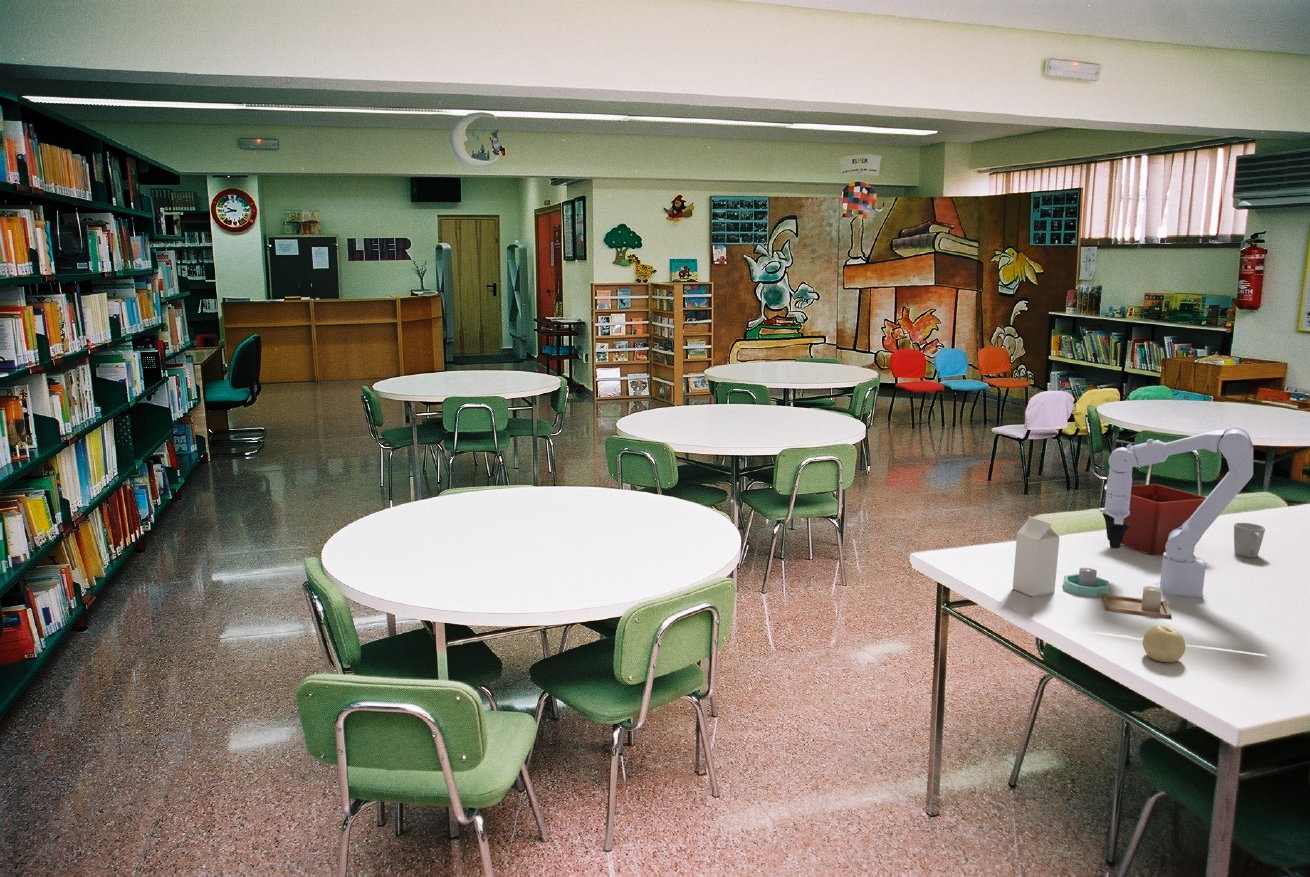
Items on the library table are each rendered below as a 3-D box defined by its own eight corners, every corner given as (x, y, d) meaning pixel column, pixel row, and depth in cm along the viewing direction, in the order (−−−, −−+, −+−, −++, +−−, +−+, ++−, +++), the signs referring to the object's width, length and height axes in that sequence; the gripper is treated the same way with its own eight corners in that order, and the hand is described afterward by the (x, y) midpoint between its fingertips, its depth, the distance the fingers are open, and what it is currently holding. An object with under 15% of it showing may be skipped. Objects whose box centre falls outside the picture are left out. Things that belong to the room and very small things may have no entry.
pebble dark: (1095, 587, 238) (1097, 569, 237) (1094, 592, 235) (1096, 573, 234) (1078, 585, 240) (1080, 566, 239) (1077, 590, 236) (1079, 571, 235)
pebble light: (1158, 607, 225) (1160, 587, 224) (1161, 612, 221) (1163, 592, 220) (1140, 604, 226) (1142, 585, 225) (1142, 610, 223) (1144, 590, 222)
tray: (1165, 605, 227) (1165, 601, 227) (1171, 620, 218) (1171, 615, 218) (1102, 598, 232) (1102, 593, 232) (1105, 612, 223) (1105, 607, 223)
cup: (1253, 551, 271) (1257, 523, 269) (1271, 561, 261) (1275, 532, 260) (1225, 550, 272) (1229, 522, 270) (1242, 560, 262) (1246, 531, 261)
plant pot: (1150, 536, 286) (1156, 483, 282) (1204, 554, 268) (1211, 498, 265) (1100, 541, 280) (1106, 487, 276) (1152, 560, 262) (1158, 503, 259)
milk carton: (1033, 597, 232) (1039, 524, 229) (1012, 588, 239) (1018, 517, 235) (1054, 594, 235) (1061, 521, 231) (1033, 585, 241) (1039, 514, 238)
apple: (1130, 649, 201) (1146, 617, 201) (1166, 668, 199) (1182, 636, 200) (1144, 652, 193) (1161, 619, 193) (1182, 672, 191) (1198, 639, 192)
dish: (1106, 586, 240) (1107, 577, 240) (1109, 600, 231) (1110, 590, 230) (1062, 581, 244) (1063, 572, 243) (1064, 594, 234) (1065, 584, 234)
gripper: (1099, 486, 249) (1094, 534, 252) (1103, 498, 236) (1098, 550, 238) (1128, 488, 247) (1123, 537, 249) (1134, 501, 233) (1129, 553, 236)
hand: (1113, 544), depth 244 cm, fingers open, 7 cm apart
